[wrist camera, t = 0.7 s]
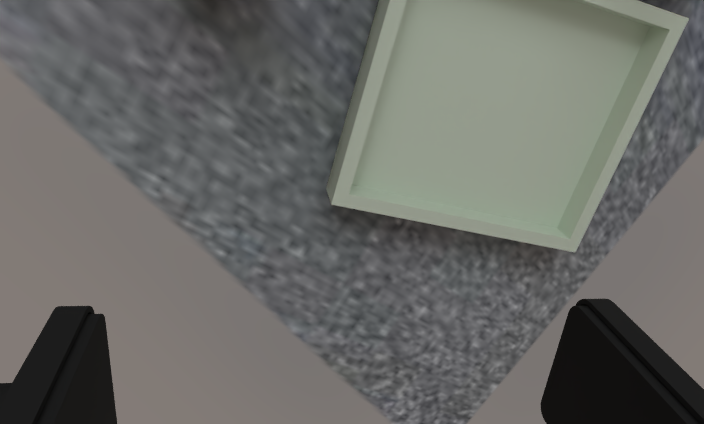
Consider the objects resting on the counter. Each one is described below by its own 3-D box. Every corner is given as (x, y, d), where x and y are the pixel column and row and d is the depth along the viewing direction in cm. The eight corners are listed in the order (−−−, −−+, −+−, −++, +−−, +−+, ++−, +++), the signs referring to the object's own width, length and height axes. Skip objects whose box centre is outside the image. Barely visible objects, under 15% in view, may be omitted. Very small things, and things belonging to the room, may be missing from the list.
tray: (399, -75, 34) (412, -79, 31) (659, 14, 39) (689, 18, 36) (326, 188, 40) (331, 204, 37) (556, 235, 45) (575, 252, 43)
